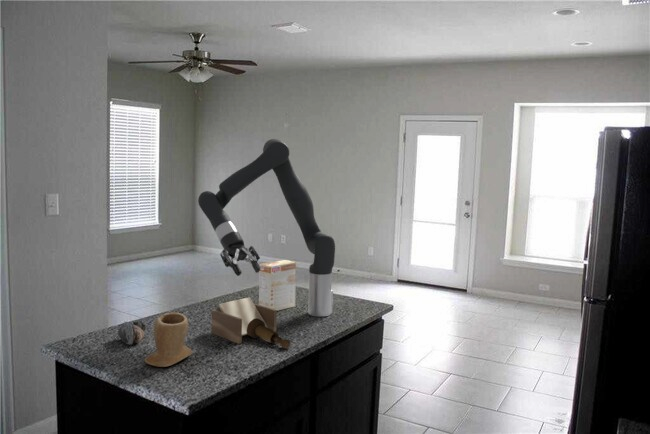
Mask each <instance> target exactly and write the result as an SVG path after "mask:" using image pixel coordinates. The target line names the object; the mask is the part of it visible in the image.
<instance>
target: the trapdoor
mask: <svg viewBox="0 0 650 434" xmlns="http://www.w3.org/2000/svg"><path fill="white" fill-rule="evenodd" d="M215 310H217V311H220V312H223V313H226V314H229V315H232V316H235V317H238V318H241V319H242V337H243V336H247V335H248V334H247V326H248V324H249V323H250V321H252V320H253V319H256V318H257V319H260V320H262V321H263V322H264V323H265V321H264V320H263V318H262V316H261V315H260V313H259V311H258V310H257V308H256V307H255V305H254V302H253V300H252V298H251V297H250V296H249V297H246V298H245V297H244V298H240V299H235V300H230V301H226V302H223V303H222V302H221V303H219V304H218V305H217V307H216V309H215ZM265 327H267V328H268V326H267V325H266V323H265Z"/></svg>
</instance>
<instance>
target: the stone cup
mask: <svg viewBox="0 0 650 434" xmlns="http://www.w3.org/2000/svg"><path fill="white" fill-rule="evenodd" d="M188 329H189V320H188V318H187V316H186V315H185V314H183V313H180V312H167V313H163V314H161V315H160V316H159V317H157V318H156V320H155V322H154V326H153V338H154V339H153V340H154V341H155V346H156V351H155V352H152V353H151V354H149V355H148V356H146V357H145V359H144V362H145V363H146V364H147V365H151V366H154V367H160V368H165V367H169V366H173V365H175V364H177V363H180V361H182V360H184V359H186V358H187V357H189V356H191V355H193V351H192V349H191V348H190V347H188V346H187V345H186V344H185V343H184V342H185V340H186V337H187V334H188Z"/></svg>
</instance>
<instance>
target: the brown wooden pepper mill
mask: <svg viewBox="0 0 650 434" xmlns="http://www.w3.org/2000/svg"><path fill="white" fill-rule="evenodd" d="M247 335H248V336H250V337H251V338H253V339H257V338H262V339H263V340H265V342H268V343H270V344H271V345H274V344H277V345H281V348H283V349H289V348H290V346H291V342H290V340H289V339H283V338H282V337H280V335H279V333H278V332H277V331H276V332H274V331H272V330H270V329H269V328H267V327H265V323H264V322H263V321H262V320H260V319H257V318H256V319H253V320H252V321H250V323H249V324H248V326H247Z"/></svg>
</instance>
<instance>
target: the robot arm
mask: <svg viewBox="0 0 650 434" xmlns="http://www.w3.org/2000/svg"><path fill="white" fill-rule="evenodd" d="M289 157H290V148H289V146H288V145H287V144H286V143H285V142H284V141H282V140H281V139H278V138H277V139H276V138H272V139H268V140H267V141H266V142H265V143H264V145H263V148H262V153H261V154H260V155H259V156H258V157H256V158H255V160H253V161H252V162H250V163H248V164H247V165H245V166H244V167H242V168H240V169H238V170H235V172H234V173H232V174H231V175H229V176H228V177H227V178H226V179H224V180H223V181H222V182H220V183H219V185H218V189H219V190H218V191H217V193H214V192H212V191H209V190H206V191H203V192H201V193H200V194H199V196H198V202H197V203H198V206H199V208H200V209H201V211H202V212H203V214H204V215H205V217H206V219H208V221H209V223H210V224H211V226H212V229H213V230H214V232H215V234H216V237H217V238H218V241H219V242H220V245H221V246H222V248H223V249H222V251H221V252H220V253H219V255H220V258H221V259H222V262H223V264H224V266H225V267H226V268H228V267H230V268H232V270H233V272H234V274H235V275H236V276H237V277H239V276H241V274H242V273H243V272H242V270H241V268H240V266H239V264H238V263H237V262H239V261H240V262H241V261H245V262H246V263H249V264H251V266H252V268H253V270H254V273H256V274H257V273H258V274H259V271H260V266H259V262H258V261H259V260H260V259H261V258H260V257H261V256H260V255H259V253H258V252H257V251H256V248H254V246H253V245H250V246H249V247H246V246H245V242H244V240H243V237H242V236H241V234H240V232H239V230H238V229H237V227H236V225H234V223H233V222H232V220H231V218H230V217H229V214H228V213H227V212H226V211H225V210H224V209H225V207H226V206H227V205H228V204H229V203H230V202H231V200H232V199H233V198H234V197H235V196H237V195H238V194H239V193H241V192H242V191H243V190H244V189H246V188H247V187H248V186H250V184H252V183H254V182H255V181H256V180H257V179H259V178H260V177H261V176H263V175H264V174H267V173H268V172H269V171H272V170H273V173H274V174H275V176H276V178H277V181H278V185H279V187H280V189H281V192H282V195H283V196H284V199H285V201H286V203H287V206H288V207H289V209H290V211H291V213H292V215H293V216H294V219H295V221H296V223H297V225H298V227H299V228H300V230H301V234H302V237H303V239H304V242H305V246H306V248H307V249H308V251H309V252H310V254H313V255H314V256H313V263H311V264H310V265H309V267H308V268H309V269H308V278H309V279H308V304H307V305H308V311H307V314H308V315H310V316H313V317H327V316H330V315H331V314H332V313H333V299H334V295H333V294H334V291H333V289H332V284H333V283H332V281H333V280H332V277H333V275H332V273H333V268H334V265H335V256H336V255H335V254H336V243H335V239H334V238H333V237H332V236H331V235H330V234H326V233H324V232H322V230H321V229H320V227H319V225H318V223H317V222H316V218H315V213H314V211H315V210H314V204H313V200H312V198H311V196H310V194H309V192H308V191H309V190H308V189H307V188H306V186H305V183H303V181H302V179H301V178H300V176H299V175H298V174H297V172H296V170H295V169H294V167H293V165H292V163H291V160H290V158H289Z"/></svg>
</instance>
